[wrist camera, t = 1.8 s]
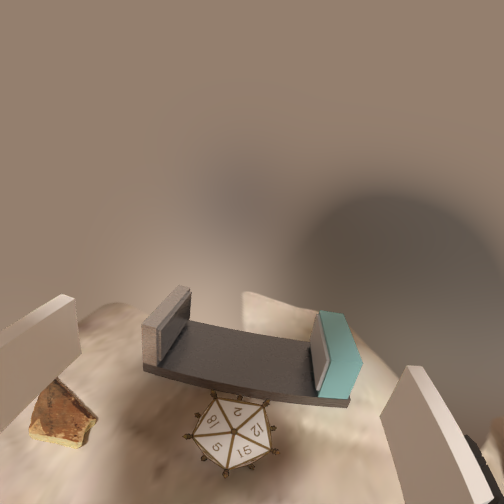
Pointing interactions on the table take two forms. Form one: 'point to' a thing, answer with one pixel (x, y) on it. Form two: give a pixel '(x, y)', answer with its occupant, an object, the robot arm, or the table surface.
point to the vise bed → (228, 357)
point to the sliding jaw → (334, 356)
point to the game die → (233, 433)
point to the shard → (59, 417)
